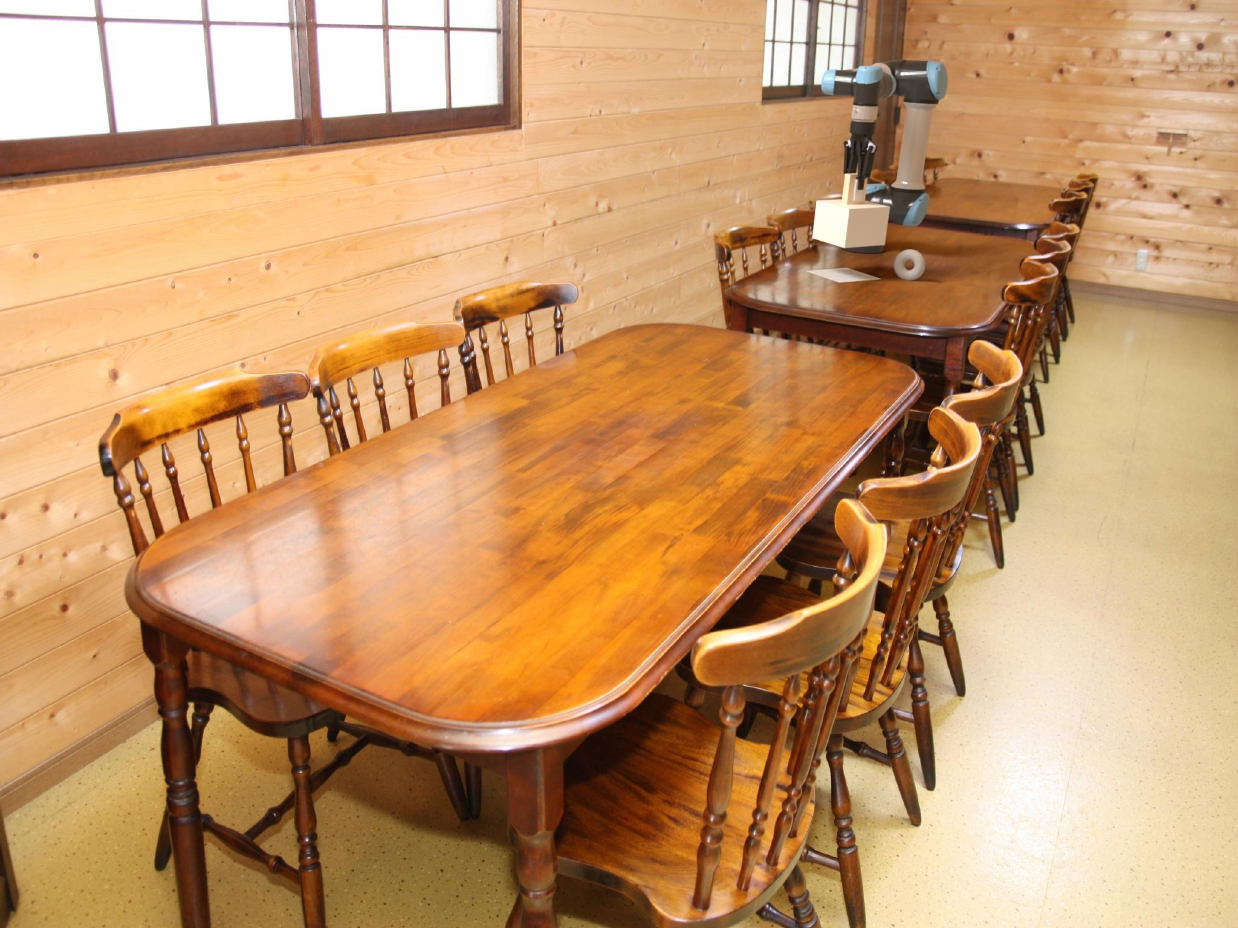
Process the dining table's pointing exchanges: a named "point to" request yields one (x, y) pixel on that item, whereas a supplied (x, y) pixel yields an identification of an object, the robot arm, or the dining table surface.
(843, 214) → the cube with upright tab
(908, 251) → the donut
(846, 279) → the mat
